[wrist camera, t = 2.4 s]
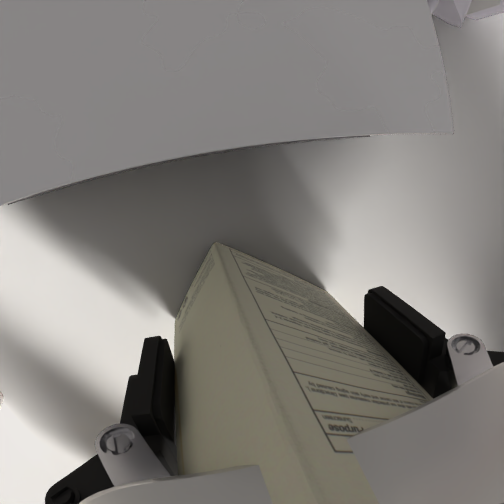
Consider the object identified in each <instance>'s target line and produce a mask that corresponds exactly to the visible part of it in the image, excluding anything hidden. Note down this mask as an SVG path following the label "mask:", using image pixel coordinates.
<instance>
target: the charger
mask: <svg viewBox="0 0 504 504" xmlns="http://www.w3.org/2000/svg"><path fill="white" fill-rule="evenodd" d="M427 2H428V6H429V9H430V12H431V15H432V14H433V15H435V16H436V17H438V18H440V19H442V20H443V21H445V22H446V23H448V24H451V25H454V26H457V27H460V28H461V26H462V23H463V21H464V19H465V17H468V18H471V19H473V20H478V19H481V18H485V17H488V16H492V15H495V14H499V13H503V12H504V0H427Z"/></svg>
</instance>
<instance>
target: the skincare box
mask: <svg viewBox="0 0 504 504" xmlns="http://www.w3.org/2000/svg"><path fill="white" fill-rule="evenodd" d="M174 362H175V419H176V444H177V462H178V475H186V474H193V473H200V472H206V471H212V470H218V469H223V468H229V467H234V466H242V465H259V467H260V470H261V473H262V476H263V478H264V481H265V484H266V487H267V490H268V492H269V495H270V498H271V500H272V503H273V504H379V502H378V500H377V498H376V496H375V494H374V492H373V490H372V488H371V487H370V485H369V483H368V481H367V479H366V477H365V475H364V473H363V471H362V469H361V467H360V465H359V463H358V461H357V459H356V457H355V455H354V453H353V451H352V449H351V447H350V445H349V443H348V442H347V440H346V439H348V438H350V437H352V436H354V435H356V434H358V433H360V432H361V431H363V430H365V429H367V428H369V427H372V426H374V425H377V424H379V423H382V422H384V421H387V420H389V419H391V418H394V417H396V416H398V415H400V414H403V413H405V412H407V411H409V410H412V409H414V408H416V407H418V406H420V405H422V404H424V403H426V402H428V401H430V400H432V399H433V398H432V397H431V396H430V395H429V394H428V393H427V392H426V391H425V390H424V389H423V388H422V386H421V385H420V384H419V383H418V382H417V381H416V380H415V379H414V378H413V377H412V376H411V375H410V374H409V373H408V372H407V371H406V370H405V369H404V368H403V367H402V366H401V365H400V364H399V363H398V362H397V361H396V360H395V359H394V358H393V357H392V356H391V355H390V354H389V353H388V352H387V351H386V350H385V349H384V348H383V347H382V346H381V345H380V344H379V343H378V342H377V341H376V340H375V339H374V338H373V337H372V336H371V335H370V334H369V333H368V332H367V331H366V330H365V329H364V328H363V327H362V326H361V325H360V324H359V323H358V322H357V321H356V320H355V319H354V318H353V317H352V316H351V315H350V314H349V313H348V312H347V311H346V310H345V309H344V308H343V307H342V306H341V305H340V304H339V303H338V302H337V301H336V300H335V299H334V298H333V297H332V296H331V295H330V294H329V293H328V292H327V291H325V290H323V289H321V288H319V287H317V286H315V285H313V284H311V283H309V282H307V281H305V280H303V279H300V278H298V277H296V276H294V275H292V274H290V273H288V272H286V271H283V270H281V269H279V268H277V267H274V266H272V265H270V264H268V263H266V262H263V261H261V260H259V259H256V258H254V257H252V256H250V255H247V254H245V253H242V252H240V251H238V250H235V249H233V248H230V247H228V246H225V245H223V244H221V243H218V242H215V243H213V245H212V246H211V248H210V250H209V252H208V254H207V256H206V257H205V259H204V261H203V263H202V265H201V267H200V269H199V271H198V272H197V274H196V276H195V278H194V280H193V282H192V284H191V286H190V288H189V290H188V292H187V294H186V296H185V299H184V301H183V303H182V305H181V308H180V310H179V312H178V315H177V317H176V320H175V336H174Z"/></svg>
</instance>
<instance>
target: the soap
mask: <svg viewBox="0 0 504 504" xmlns="http://www.w3.org/2000/svg"><path fill="white" fill-rule="evenodd" d="M2 404H3V395H2V393H1V392H0V410H1V407H2Z"/></svg>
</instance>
